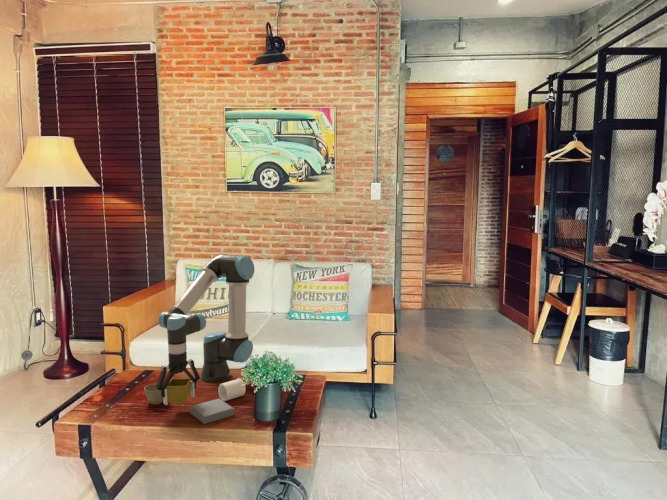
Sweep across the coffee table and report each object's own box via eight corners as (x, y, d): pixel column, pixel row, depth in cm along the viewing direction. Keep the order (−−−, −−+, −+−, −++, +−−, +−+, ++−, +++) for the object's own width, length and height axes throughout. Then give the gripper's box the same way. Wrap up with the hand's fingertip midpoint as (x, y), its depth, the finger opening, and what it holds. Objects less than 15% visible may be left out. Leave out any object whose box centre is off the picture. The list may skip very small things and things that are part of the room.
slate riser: (219, 404, 216) (219, 397, 216) (234, 414, 206) (234, 408, 206) (189, 412, 207) (189, 406, 207) (204, 424, 197) (204, 417, 197)
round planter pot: (160, 407, 212) (159, 392, 211) (139, 405, 214) (139, 390, 213) (172, 399, 222) (171, 384, 221) (152, 397, 224) (152, 382, 223)
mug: (245, 397, 225) (245, 381, 224) (227, 403, 218) (227, 386, 217) (231, 390, 233) (231, 374, 232) (213, 395, 226) (213, 379, 226)
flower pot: (166, 406, 205) (165, 386, 204) (172, 397, 214) (171, 378, 213) (186, 406, 205) (186, 385, 204) (192, 397, 214) (191, 378, 213)
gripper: (199, 344, 217) (201, 389, 220) (146, 355, 202) (148, 404, 204) (207, 348, 212) (208, 395, 214) (152, 360, 196) (155, 410, 199)
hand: (179, 399), depth 209 cm, fingers closed on flower pot, 12 cm apart
